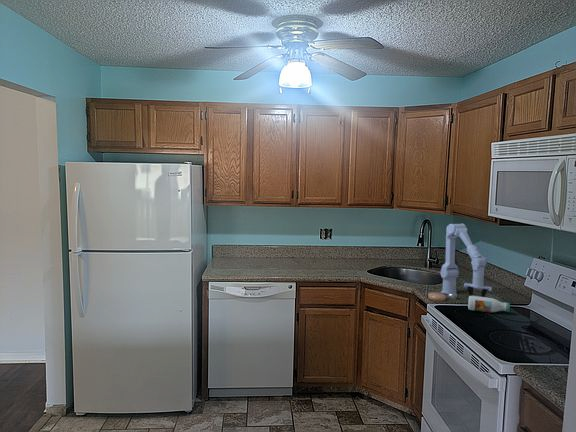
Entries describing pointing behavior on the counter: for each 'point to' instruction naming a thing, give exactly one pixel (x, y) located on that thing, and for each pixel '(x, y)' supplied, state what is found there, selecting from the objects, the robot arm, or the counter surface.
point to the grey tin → (452, 295)
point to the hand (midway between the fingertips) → (476, 301)
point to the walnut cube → (477, 295)
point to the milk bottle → (486, 304)
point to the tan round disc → (436, 296)
